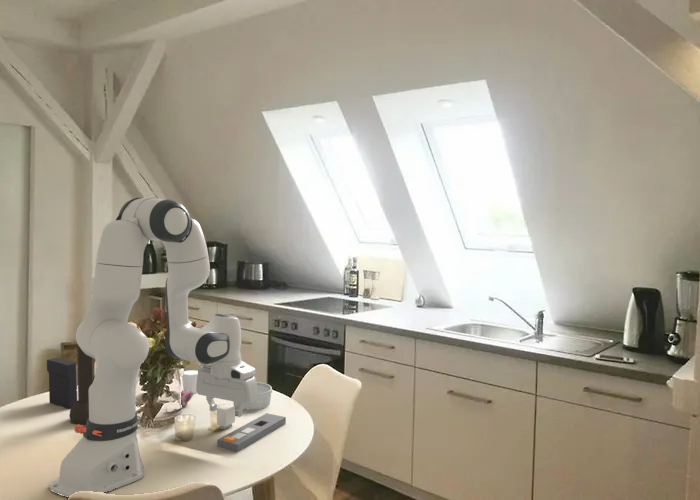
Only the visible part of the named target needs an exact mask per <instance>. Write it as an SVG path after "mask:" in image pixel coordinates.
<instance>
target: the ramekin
mask: <svg viewBox="0 0 700 500" xmlns="http://www.w3.org/2000/svg"><path fill="white" fill-rule="evenodd" d="M256 382H257V381H256ZM272 392H273V388H272V386H271V385H270V384H268V383H265V382H259V381H258V382H257V399H256V401H255V402H253V403H251V404H246V406H245V407H244V409H243V410H246V411H251V410H252V411H253V410H260V409H265V408H266V407H268V406H269V405H270V403H271V396H272ZM232 403H233V405H234V406H235V408H237V409H239V407H240V406H238V402H234V401H232Z"/></svg>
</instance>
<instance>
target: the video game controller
mask: <svg viewBox="0 0 700 500" xmlns="http://www.w3.org/2000/svg"><path fill="white" fill-rule="evenodd" d="M180 393H181V405H182V408H186V407H187V405H188V403H189V402H190V401H191V400H192V398H193V396H194V394H193V393H192V392H191V391H188V390H187V391H181V392H180Z"/></svg>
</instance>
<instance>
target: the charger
mask: <svg viewBox="0 0 700 500" xmlns="http://www.w3.org/2000/svg"><path fill="white" fill-rule="evenodd" d="M235 410H236V407H235V406H234V404H227V403H226V404H223V405H220V406H219V407H217V410H216V425H217V426H219V429H221V430H227V429H228V428H231V427H233V424H234V423H235V421H236V416H235Z"/></svg>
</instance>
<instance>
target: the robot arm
mask: <svg viewBox="0 0 700 500" xmlns="http://www.w3.org/2000/svg"><path fill="white" fill-rule="evenodd" d="M150 241H153V242H154V241H155V242H160V241H161V242H162V245H163V246H164V248H165V254H166V260H167V269H168V273H167V278H166V281H165V288H164V289H165V290H164V291H165V295H164V296H165V312H166V331H165V339H164V346H165V350H166V353H167V354H168V355H169V357H171V358H173V359H175V360H176V359H177V360H184V361H187V362H188V361H189V362H192V363H197V364H200V365H199V366H198V368H197V370H198V376H197V383H196V391H197V393H196V394H197V395H199V396H205V397H206V401H207V404H208V406H209V411H210V412H215V411H216V412H217V408H218V404H217V403H216V402H215V400H214V399H220V400H225V401H229V402H233V401H234V402H238V406H240V407H239V408H237V409H235V417H237V418H240V417H242V416H243V414H244V412H243V411H244V410H245V409H244V407H245V406H246V404H251V403H253V402H255V401H256V399H257V379H256V377H255V375H256V373H257V372H256V368H255V367H253V366H252V365H250V364H248V363H247V362H245V361H243V360H242V354H241V347H242V346H241V345H242V328H241V322H240V319H239V318H238V316H236V315H233V314H228V313H227V314H226V313H215V314H213V316H212V319H211V320H209V322H208V323H207V324H205V325H204V326H202V327H196V326H193V325H192V324H191V322H190V320H189V303H188V301H189V300H188V299H189V297H188V296H189V294H190V293H191V291H193V290H196V289H197V288H200V287H201V286H202V285H204V283H205V282H206V281H207V280H208V278H209V277H210V273H211V272H210V271H211V266H210V265H211V264H210V257H209V252H208V246H207V242H206V238H205V235H204V232H203V230H202V227H201V225H200V223H199V222H198V221H197V220H196V219H194V218H192V217H191V216H190V213H189V211H188V210H187V208H186V207H185V206H184V205H183V204H182V203H181V202H178V201H177V200H172V199H164V198H160V197H159V198H158V197H155V196H154V197H148V196H147V197H136V198H132V199H130V200H128V201H126V202H125V203H124V204H123V205H122V207H121V208H120V210H119V212H118V215H117V217H116V218H115V220H114V221H113V220H112V221H110V222H108V223H107V224H105V226H104V228H103V230H102V232H101V236H100V239H99V243H98V247H97V253H96V259H95V260H96V261H95V267H94V268H95V269H94V279H93V284H92V285H93V286H92V293H91V297H90V301H89V304H88V307H87V310H86V313H85V315H84V319H83V320H82V321H81V323H80V324H79V325H78V327H77V330H76V332H75V341H76V344H77V345H79V347H80V348H81V349H82V351H83V352H84V353H85V354H86V355H88V356H90V357H92V358H94V361H95V363H96V369H95V372H94V375H95V377H94V381H93V383H92V384H91V386H90V387H89V418H88V420H87V423H86V425H80V424H78V425H74V426H75V427H74V429H73V430H74V432H75V433H76V434H82V437H81V438H80V439H79V441H77V443H76V444H75V445H74V447H73V448H72V449H71V450H70V451H69V452H68V453H67V455H66V456H65V457H64V458H63V459H62V461H61V464H60V466H59V476H58V477H56V478H55V479H53V480H51V481H50V482H49V483H48V488H49V487H50V489H51V490H53V491H54V492H56V493H59V494H62V495H64V496H68V497H69V496H70V495H72V494H74V493H75V492H79V491H93V492H106V491H109V492H111V491H113V489H114V490H116V489H118V488H122V487H123V486H126V485H128V484H131V483H133V482H137V481H139V480H141V479H143V477H144V474H143V470H144V464H143V461H142V458H141V455H140V454H141V453H140V448H139V443H138V442H139V441H138V436H137V430H138V428H139V426H138V425H139V420H138V413H137V412H136V409H137V408H136V407H137V406H136V401H137V398H136V396H137V394H136V392H137V391H136V388H137V380H138V376H139V370H140V369H141V368H140V367H141V365H142V364H143V363H144V362H145V360H146V359H147V357H148V355H149V351H150V343H149V339H148V337H147V335H146V334H144V333H143V332H142V331H141V330H140V329H139V328H138V327H137V326H135V325H133V324H130V323H129V321H128V320H129V318H130V317H129V316H130V314H131V310H132V308H133V307H134V304H135V303H136V302H137V301H138V299H139V298H140V296H141V287H142V285H141V284H142V278H143V277H142V276H143V268H144V267H143V266H144V253H145V249H146V247H147V245H148V244H149V242H150ZM234 402H233V403H234ZM115 488H116V489H115ZM50 489H49V490H50ZM51 490H50V491H51ZM106 493H107V492H106Z"/></svg>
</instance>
